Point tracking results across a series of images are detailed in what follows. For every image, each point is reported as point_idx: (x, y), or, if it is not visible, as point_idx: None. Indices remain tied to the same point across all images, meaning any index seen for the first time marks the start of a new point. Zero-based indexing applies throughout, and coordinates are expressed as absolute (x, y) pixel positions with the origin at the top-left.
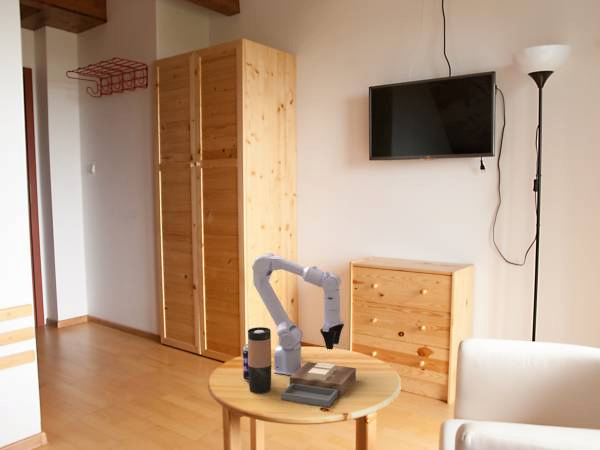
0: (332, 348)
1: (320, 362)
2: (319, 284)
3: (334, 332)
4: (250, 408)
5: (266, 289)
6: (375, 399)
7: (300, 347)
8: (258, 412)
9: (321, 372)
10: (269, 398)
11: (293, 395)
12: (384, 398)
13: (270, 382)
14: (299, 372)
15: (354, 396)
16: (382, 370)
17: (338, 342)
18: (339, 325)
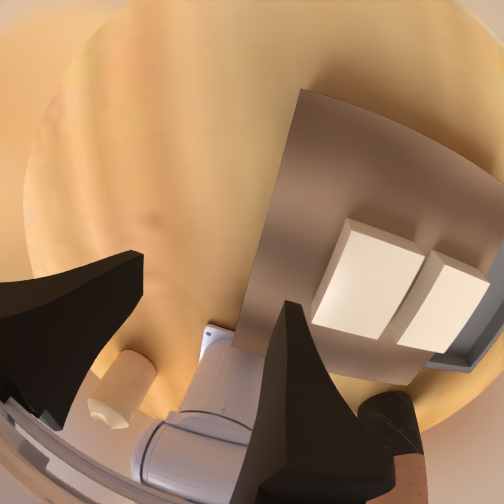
0: (297, 306)
1: (316, 316)
2: None
3: (395, 474)
4: (474, 394)
5: None
6: (495, 59)
7: (218, 419)
8: (495, 377)
9: (464, 301)
10: (444, 381)
11: (493, 342)
12: (480, 26)
13: (401, 409)
14: (368, 368)
15: (486, 130)
16: (163, 4)
17: (128, 255)
18: (2, 360)
